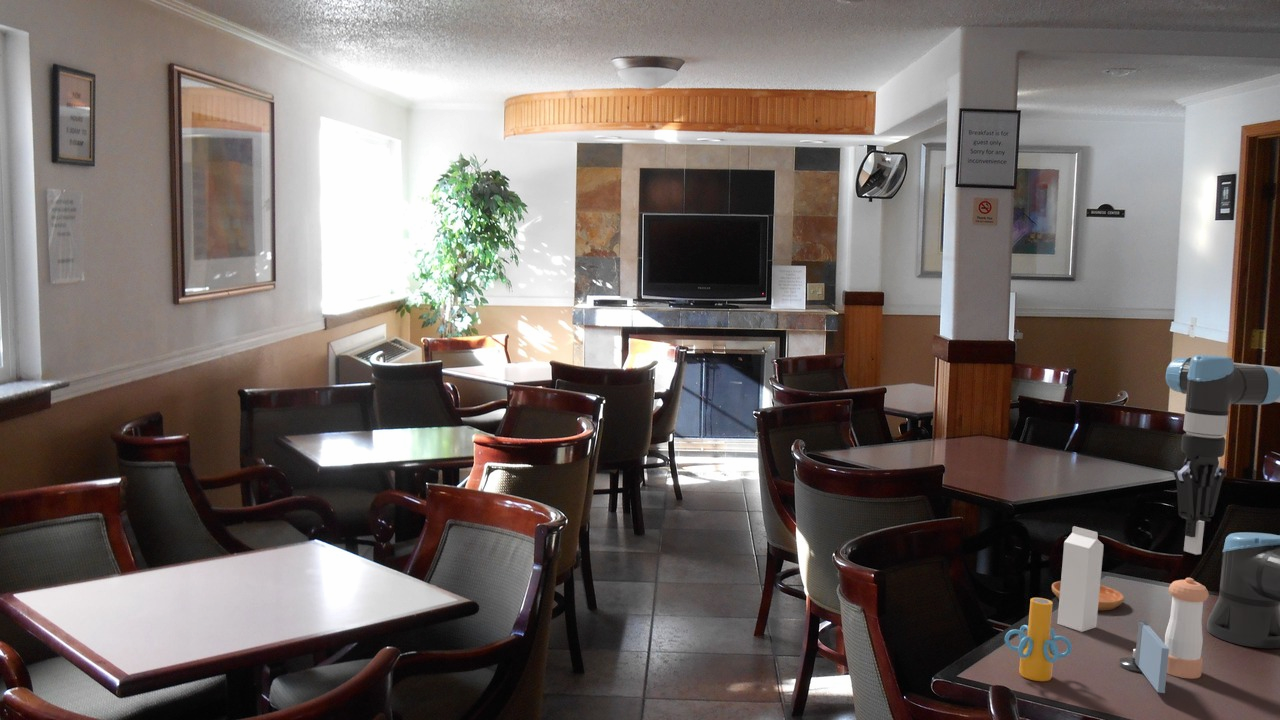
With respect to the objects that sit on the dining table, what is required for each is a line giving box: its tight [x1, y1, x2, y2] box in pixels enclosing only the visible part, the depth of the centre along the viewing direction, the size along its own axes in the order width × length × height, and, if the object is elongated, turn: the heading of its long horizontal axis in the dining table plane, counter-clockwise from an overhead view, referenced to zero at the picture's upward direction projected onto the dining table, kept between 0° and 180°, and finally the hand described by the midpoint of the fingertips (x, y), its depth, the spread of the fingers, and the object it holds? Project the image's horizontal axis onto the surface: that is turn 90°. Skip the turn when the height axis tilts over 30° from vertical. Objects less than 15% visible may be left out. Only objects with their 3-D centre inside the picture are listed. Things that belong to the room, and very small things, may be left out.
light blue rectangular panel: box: [1135, 620, 1169, 694], centre depth 203 cm, size 15×1×8 cm, turn 170°
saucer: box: [1051, 580, 1125, 611], centre depth 253 cm, size 16×16×3 cm
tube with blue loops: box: [1004, 597, 1073, 682], centre depth 205 cm, size 12×10×15 cm
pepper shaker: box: [1164, 577, 1210, 680], centre depth 210 cm, size 7×7×19 cm
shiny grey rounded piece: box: [1118, 647, 1144, 674], centre depth 212 cm, size 6×6×4 cm
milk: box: [1057, 525, 1104, 633], centre depth 234 cm, size 6×6×22 cm
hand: (1192, 552), depth 209 cm, fingers closed
